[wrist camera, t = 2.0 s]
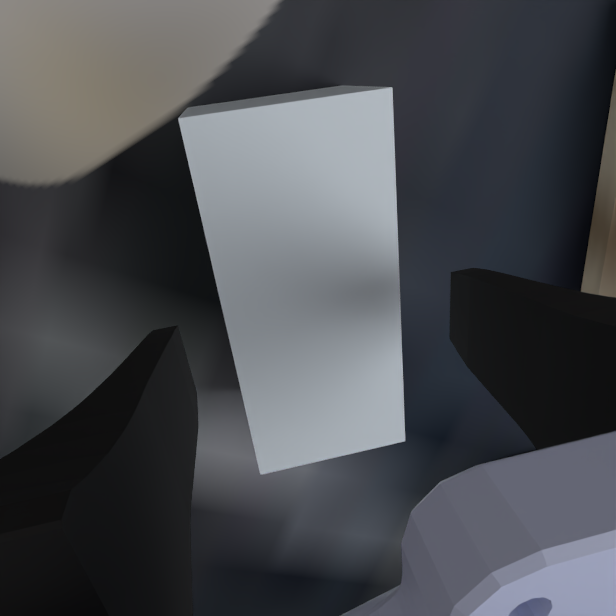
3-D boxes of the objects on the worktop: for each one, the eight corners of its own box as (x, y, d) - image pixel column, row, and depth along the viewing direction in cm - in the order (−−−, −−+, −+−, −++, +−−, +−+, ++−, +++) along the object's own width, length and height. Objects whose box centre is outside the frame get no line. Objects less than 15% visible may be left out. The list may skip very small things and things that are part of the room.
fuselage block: (362, 363, 20) (405, 440, 16) (249, 387, 20) (260, 474, 15) (339, 85, 15) (391, 87, 11) (187, 107, 15) (177, 118, 10)
